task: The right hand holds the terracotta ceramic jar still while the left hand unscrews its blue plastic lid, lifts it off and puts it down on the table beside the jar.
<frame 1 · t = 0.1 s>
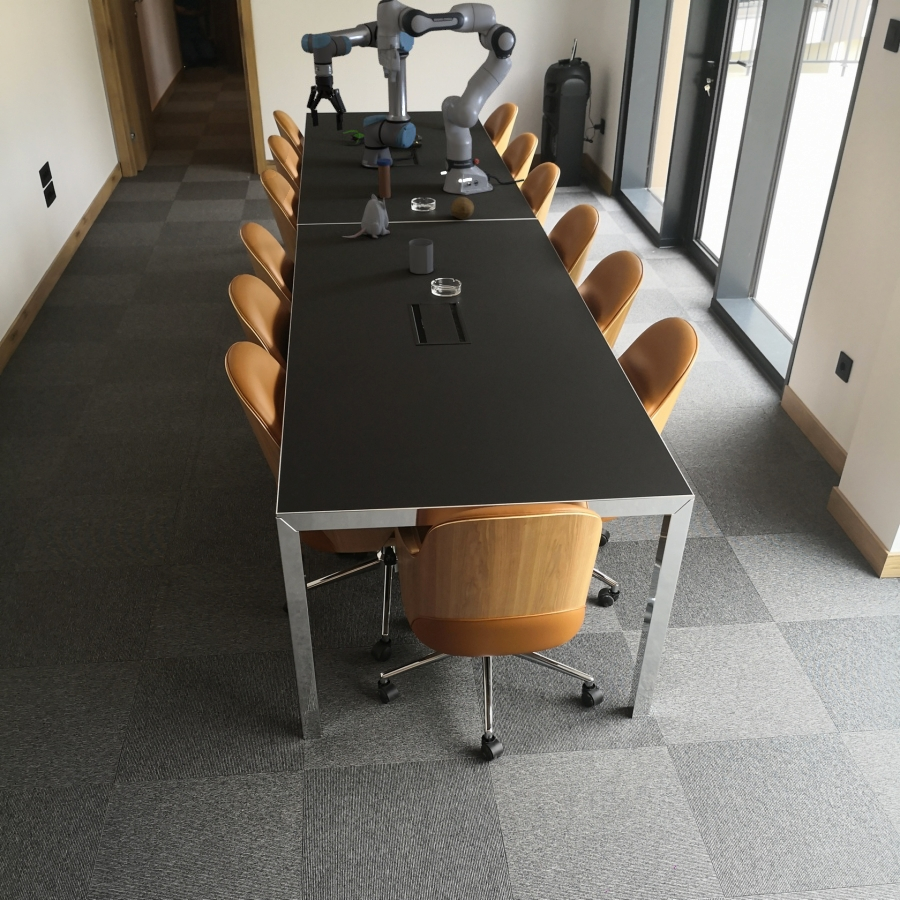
left hand: (327, 128, 372), 28 cm above the table, tool pointing down, fingers open, 13 cm apart
right hand: (389, 80, 358), 48 cm above the table, tool pointing down, fingers open, 8 cm apart
jar: (385, 196, 383), on the table
apple: (461, 130, 491), on the table
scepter: (370, 143, 466), on the table
lid: (383, 161, 375), point 15 cm above the table, screwed on, not yet turned
cup: (421, 270, 308), on the table
toy: (365, 238, 336), on the table
potato: (462, 218, 358), on the table
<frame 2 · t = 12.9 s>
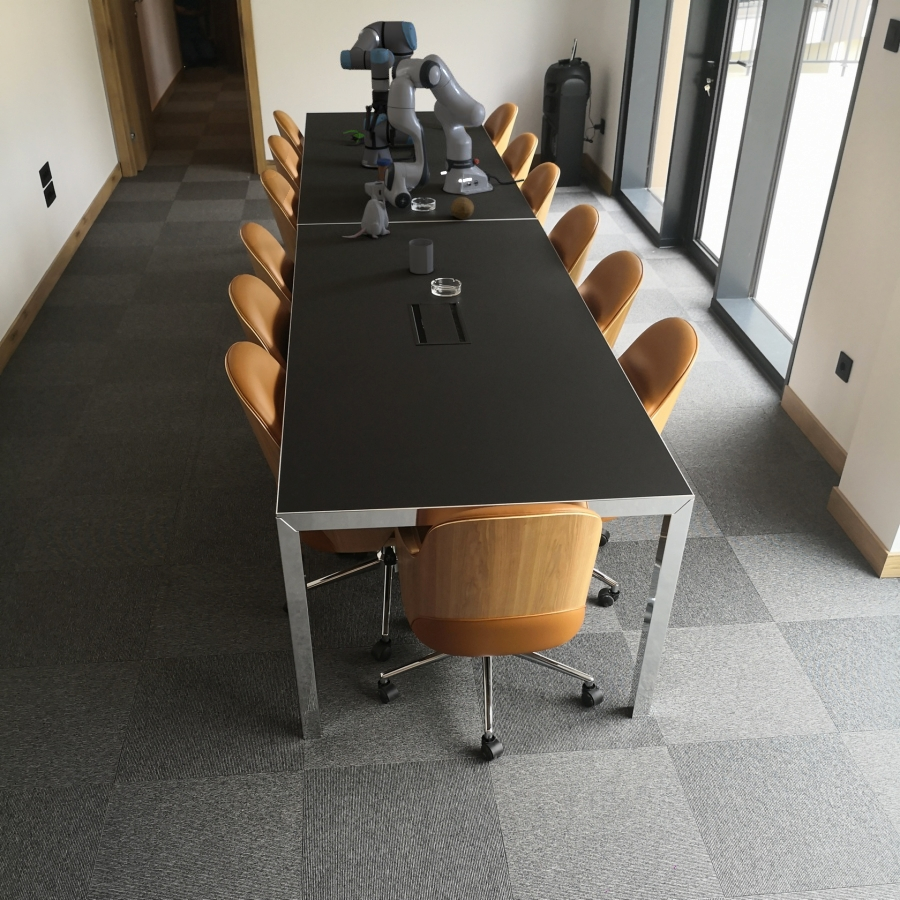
left hand: (383, 146, 372), 22 cm above the table, tool pointing down, fingers open, 8 cm apart
right hand: (383, 181, 380), 6 cm above the table, tool horizontal, fingers closed on jar, 5 cm apart
jar: (385, 196, 383), on the table, touching right hand
everything else where it was.
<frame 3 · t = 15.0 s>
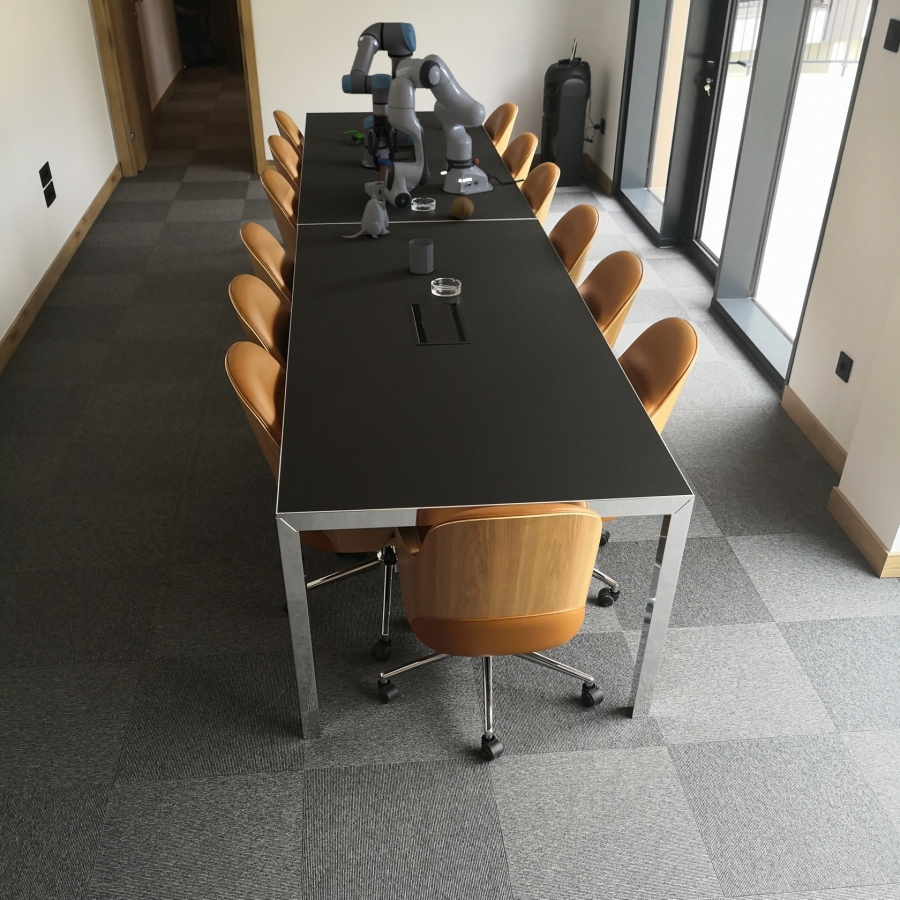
left hand: (384, 169, 377), 12 cm above the table, tool pointing down, fingers closed on lid, 6 cm apart
right hand: (383, 181, 380), 6 cm above the table, tool horizontal, fingers closed on jar, 5 cm apart
jar: (385, 196, 383), on the table, touching right hand
lid: (383, 161, 375), point 15 cm above the table, screwed on, not yet turned, touching left hand
everything else where it was.
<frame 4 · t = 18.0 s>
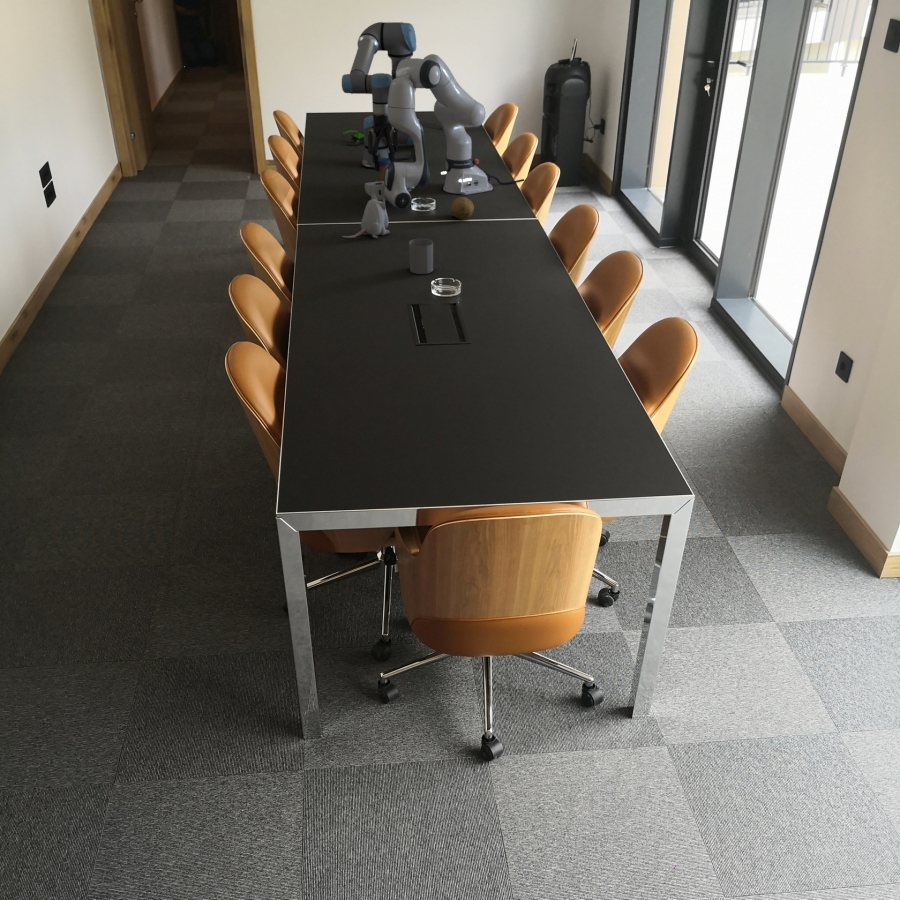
left hand: (383, 169, 377), 12 cm above the table, tool pointing down, fingers closed on lid, 6 cm apart
right hand: (383, 181, 380), 6 cm above the table, tool horizontal, fingers closed on jar, 5 cm apart
jar: (385, 196, 383), on the table, touching right hand
lid: (383, 160, 375), point 16 cm above the table, turned 75° so far, risen 0.2 cm, still on its thread, touching left hand
everything else where it was.
when the left hand's fingers open (0 cm above the table, at t = 25.1 s): lid drops 2 cm, point 1 cm above the table.
when the right hand's fingers open (6 cm above the table, at t = 25.9 s): jar stays where it is, on the table.
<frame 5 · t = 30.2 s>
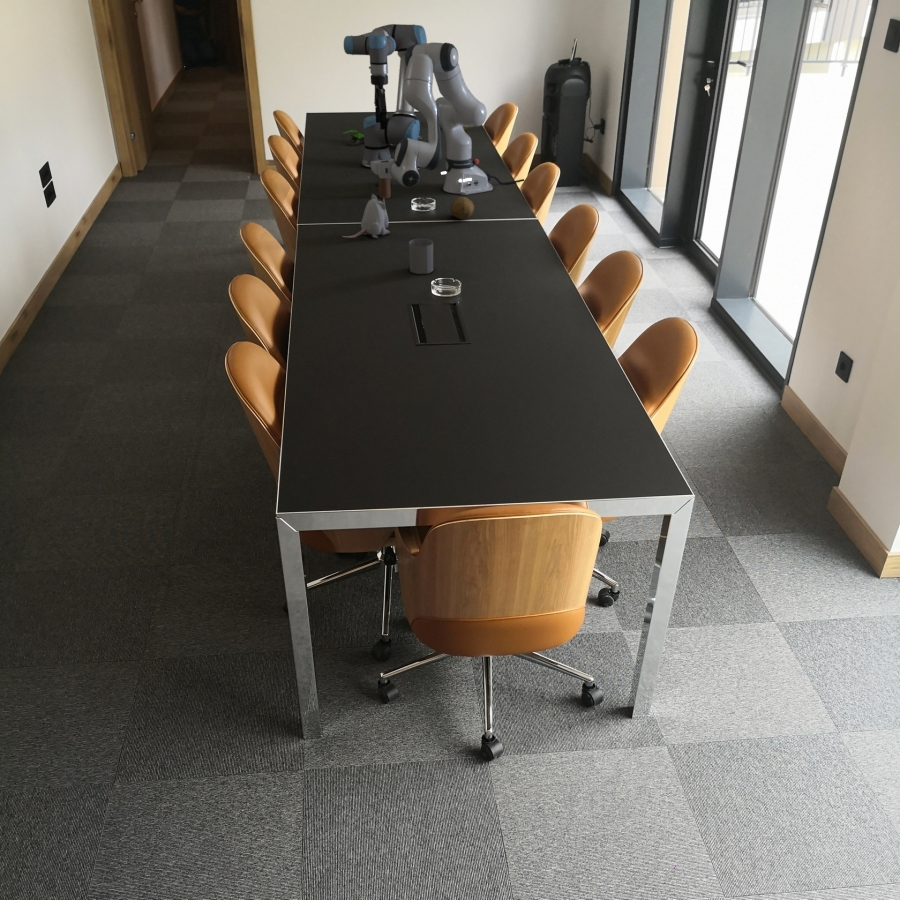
left hand: (381, 125, 385), 26 cm above the table, tool pointing down, fingers open, 13 cm apart
right hand: (390, 160, 364), 18 cm above the table, tool horizontal, fingers open, 8 cm apart
jar: (385, 196, 383), on the table
lid: (383, 182, 398), point 1 cm above the table, off its thread
everything else where it was.
at the end: lid came off its thread; lid point 1.3 cm above the table; the left hand is holding nothing; the right hand is holding nothing; jar tilted 0°; jar moved 0.0 cm from its start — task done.
